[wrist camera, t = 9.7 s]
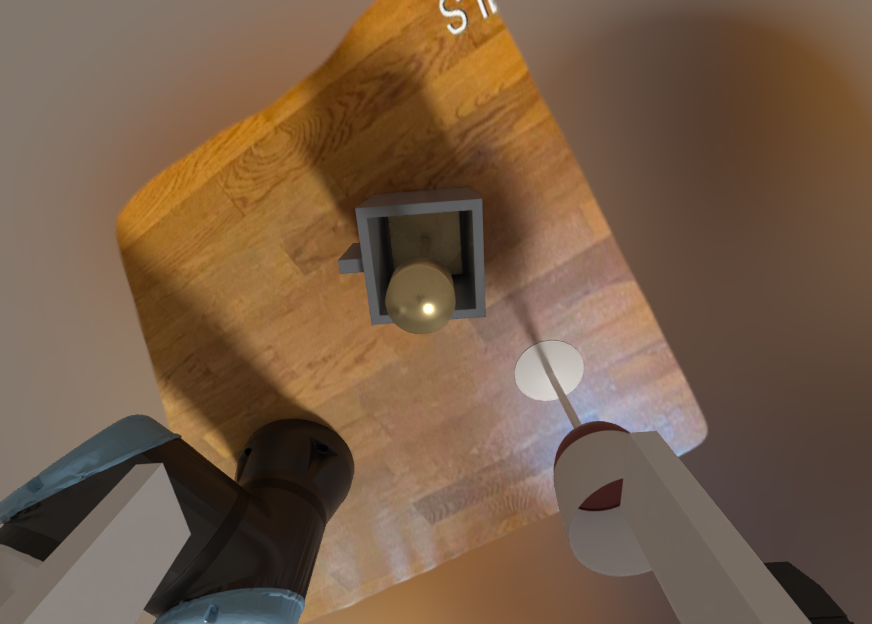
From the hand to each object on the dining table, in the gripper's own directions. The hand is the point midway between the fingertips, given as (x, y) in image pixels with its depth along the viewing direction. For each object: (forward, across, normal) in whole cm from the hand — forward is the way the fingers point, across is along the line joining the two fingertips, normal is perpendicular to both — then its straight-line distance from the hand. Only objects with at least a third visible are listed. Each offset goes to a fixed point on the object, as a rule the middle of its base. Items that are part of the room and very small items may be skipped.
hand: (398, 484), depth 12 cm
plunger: (+34, 0, 0) cm, 34 cm away
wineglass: (+36, +14, -18) cm, 43 cm away
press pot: (+36, -1, 0) cm, 36 cm away
